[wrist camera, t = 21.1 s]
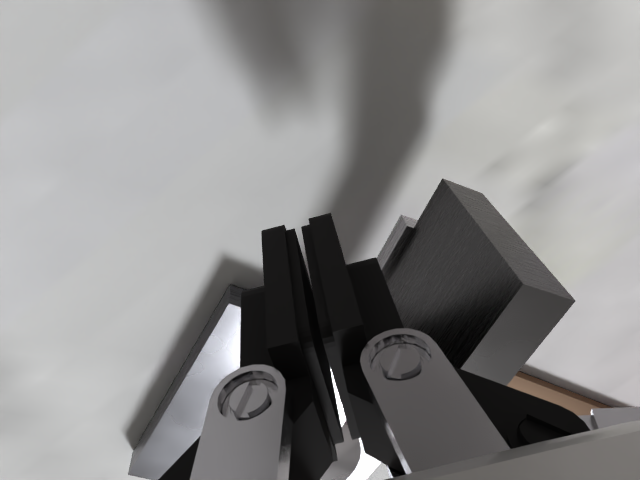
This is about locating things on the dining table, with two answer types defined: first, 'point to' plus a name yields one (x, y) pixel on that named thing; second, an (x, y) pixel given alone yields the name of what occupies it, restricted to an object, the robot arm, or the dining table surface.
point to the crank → (465, 292)
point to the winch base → (201, 396)
